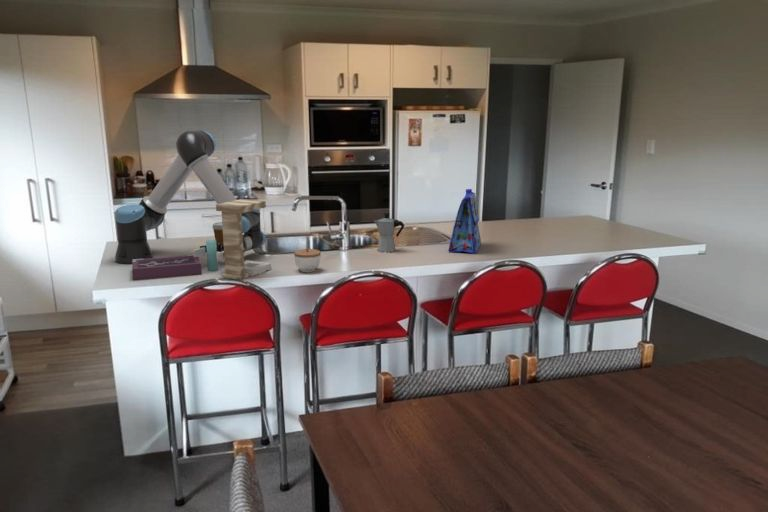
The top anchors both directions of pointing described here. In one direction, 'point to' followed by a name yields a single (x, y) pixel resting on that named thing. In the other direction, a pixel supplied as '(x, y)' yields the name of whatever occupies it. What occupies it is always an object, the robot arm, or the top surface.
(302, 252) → the lidded jar
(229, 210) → the wooden pedestal
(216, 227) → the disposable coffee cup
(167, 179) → the robot arm
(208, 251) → the peg
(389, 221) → the coffee maker
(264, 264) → the socket
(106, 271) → the top surface
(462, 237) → the lunch bag
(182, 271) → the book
